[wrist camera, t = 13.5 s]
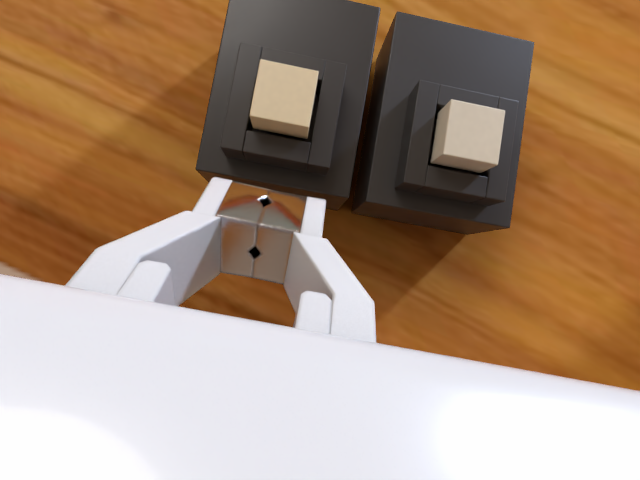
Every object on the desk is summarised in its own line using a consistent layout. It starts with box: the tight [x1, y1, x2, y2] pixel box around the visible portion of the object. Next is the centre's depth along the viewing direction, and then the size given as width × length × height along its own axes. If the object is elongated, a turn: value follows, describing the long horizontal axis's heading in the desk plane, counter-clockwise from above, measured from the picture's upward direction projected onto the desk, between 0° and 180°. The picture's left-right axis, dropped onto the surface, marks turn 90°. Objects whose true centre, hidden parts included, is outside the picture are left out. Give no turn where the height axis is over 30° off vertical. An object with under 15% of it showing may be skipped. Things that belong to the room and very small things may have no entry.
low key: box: [431, 99, 505, 173], centre depth 20 cm, size 3×3×2 cm
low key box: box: [351, 12, 534, 234], centre depth 24 cm, size 12×9×7 cm
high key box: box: [196, 0, 380, 210], centre depth 23 cm, size 12×9×7 cm
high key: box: [249, 59, 319, 139], centre depth 19 cm, size 3×3×2 cm
